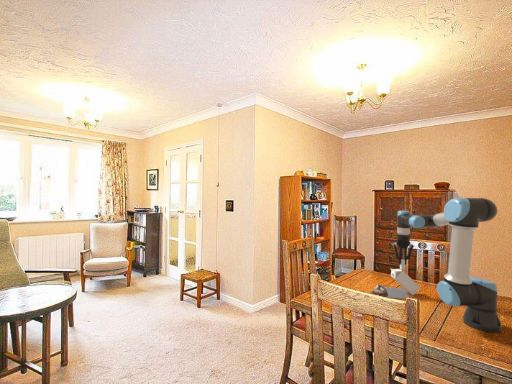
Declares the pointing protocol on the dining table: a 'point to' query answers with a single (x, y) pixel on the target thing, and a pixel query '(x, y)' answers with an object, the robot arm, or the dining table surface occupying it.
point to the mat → (397, 293)
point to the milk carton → (404, 281)
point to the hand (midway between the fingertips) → (402, 269)
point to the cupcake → (380, 291)
